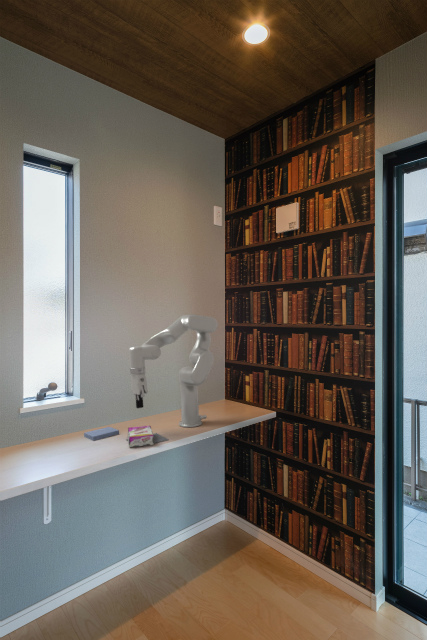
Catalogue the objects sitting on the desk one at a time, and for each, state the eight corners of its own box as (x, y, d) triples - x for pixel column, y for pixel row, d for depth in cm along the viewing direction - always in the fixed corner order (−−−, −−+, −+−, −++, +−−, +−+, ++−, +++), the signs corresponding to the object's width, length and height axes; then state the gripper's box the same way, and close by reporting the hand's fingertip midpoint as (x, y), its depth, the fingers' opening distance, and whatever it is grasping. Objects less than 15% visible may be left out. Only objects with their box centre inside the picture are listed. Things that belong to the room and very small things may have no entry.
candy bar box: (150, 424, 184) (153, 434, 168) (150, 434, 184) (154, 445, 168) (127, 426, 181) (128, 436, 166) (127, 437, 181) (128, 447, 166)
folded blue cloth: (109, 431, 196) (109, 426, 196) (119, 435, 188) (119, 430, 188) (84, 437, 186) (83, 432, 186) (93, 441, 179) (93, 436, 179)
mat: (156, 433, 187) (156, 433, 187) (168, 440, 176) (168, 439, 176) (126, 440, 178) (126, 439, 178) (136, 447, 167) (136, 446, 167)
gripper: (151, 371, 181) (153, 408, 181) (138, 369, 193) (140, 404, 193) (136, 373, 177) (138, 411, 177) (125, 370, 189) (127, 406, 189)
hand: (139, 407), depth 185 cm, fingers closed
